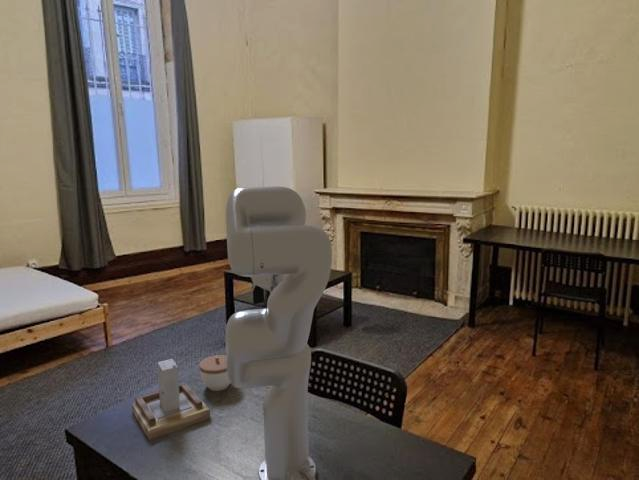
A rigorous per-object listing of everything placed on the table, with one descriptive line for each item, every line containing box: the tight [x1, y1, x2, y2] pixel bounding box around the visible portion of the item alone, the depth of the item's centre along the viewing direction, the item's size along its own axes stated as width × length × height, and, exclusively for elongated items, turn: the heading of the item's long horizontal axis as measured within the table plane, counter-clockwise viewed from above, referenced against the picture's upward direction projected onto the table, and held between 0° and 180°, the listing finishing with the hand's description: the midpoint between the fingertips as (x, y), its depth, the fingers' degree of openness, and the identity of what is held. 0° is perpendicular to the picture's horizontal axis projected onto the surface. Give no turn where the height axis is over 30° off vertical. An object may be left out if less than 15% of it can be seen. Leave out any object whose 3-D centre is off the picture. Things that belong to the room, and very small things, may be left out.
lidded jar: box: [198, 354, 231, 392], centre depth 139 cm, size 11×11×9 cm
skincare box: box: [157, 358, 180, 412], centre depth 123 cm, size 6×4×12 cm
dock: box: [131, 381, 211, 441], centre depth 124 cm, size 16×16×4 cm
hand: (267, 307), depth 125 cm, fingers open, 9 cm apart
